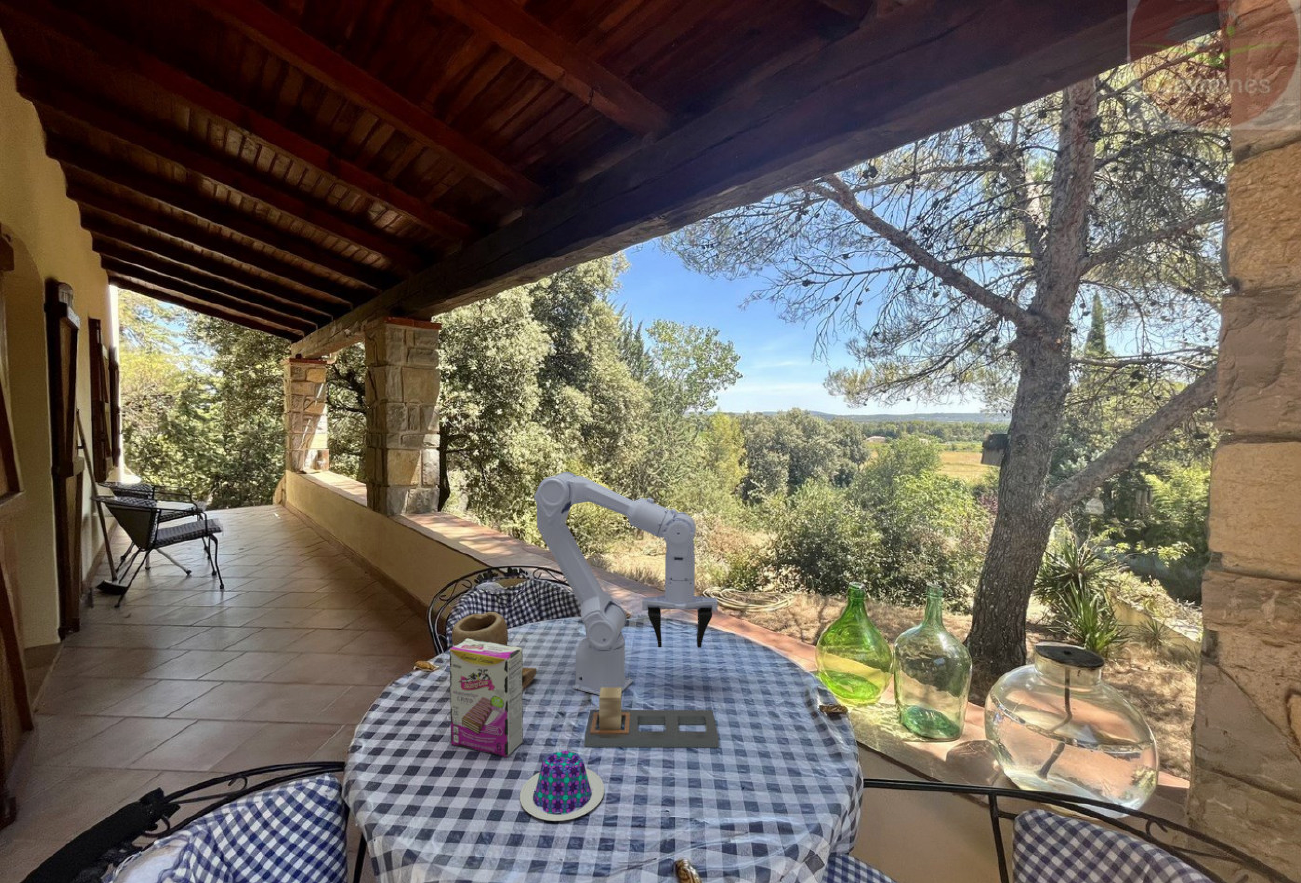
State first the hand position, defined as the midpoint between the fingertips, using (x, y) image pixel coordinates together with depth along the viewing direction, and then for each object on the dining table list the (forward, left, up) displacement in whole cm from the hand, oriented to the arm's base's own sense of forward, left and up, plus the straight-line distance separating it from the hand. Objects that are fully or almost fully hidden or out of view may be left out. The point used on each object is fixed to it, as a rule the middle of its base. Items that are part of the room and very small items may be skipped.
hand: (679, 645), depth 113 cm
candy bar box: (-22, -30, -10) cm, 38 cm away
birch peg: (-5, -18, -9) cm, 21 cm away
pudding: (-4, -35, -10) cm, 37 cm away
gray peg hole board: (+1, -15, -9) cm, 18 cm away
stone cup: (-34, -15, -10) cm, 38 cm away
